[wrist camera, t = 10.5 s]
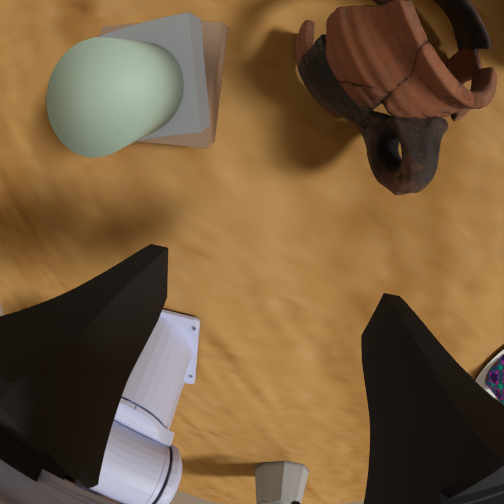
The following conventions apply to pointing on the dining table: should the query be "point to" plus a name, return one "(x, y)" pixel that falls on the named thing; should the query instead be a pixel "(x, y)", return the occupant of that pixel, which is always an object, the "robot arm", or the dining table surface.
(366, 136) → the pottery mug
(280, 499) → the coffee maker
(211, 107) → the tower base
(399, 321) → the robot arm
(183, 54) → the tower top
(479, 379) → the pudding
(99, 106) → the green cylinder
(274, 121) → the dining table surface
